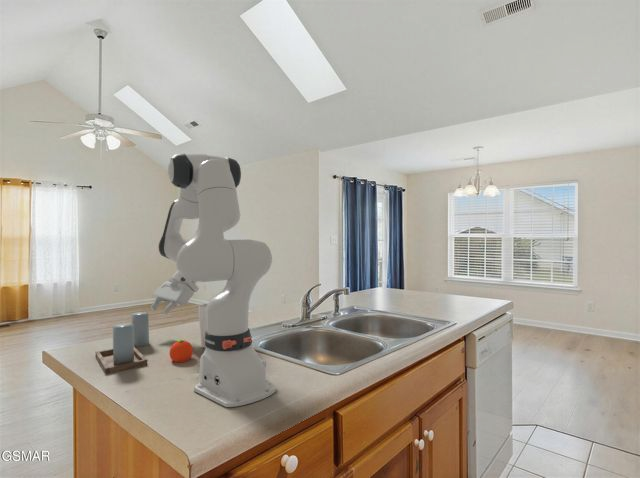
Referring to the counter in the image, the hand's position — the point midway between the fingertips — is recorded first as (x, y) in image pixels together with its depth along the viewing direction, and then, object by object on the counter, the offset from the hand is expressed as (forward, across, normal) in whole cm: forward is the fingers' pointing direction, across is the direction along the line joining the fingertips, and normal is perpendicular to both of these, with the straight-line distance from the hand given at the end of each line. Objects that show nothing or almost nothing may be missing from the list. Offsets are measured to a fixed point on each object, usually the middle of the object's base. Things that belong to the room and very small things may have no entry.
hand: (158, 310), depth 135 cm
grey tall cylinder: (+21, +17, -6) cm, 28 cm away
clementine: (+12, +26, +5) cm, 29 cm away
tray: (+21, +12, -4) cm, 25 cm away
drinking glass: (+2, +19, +15) cm, 24 cm away
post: (+13, 0, +4) cm, 14 cm away
